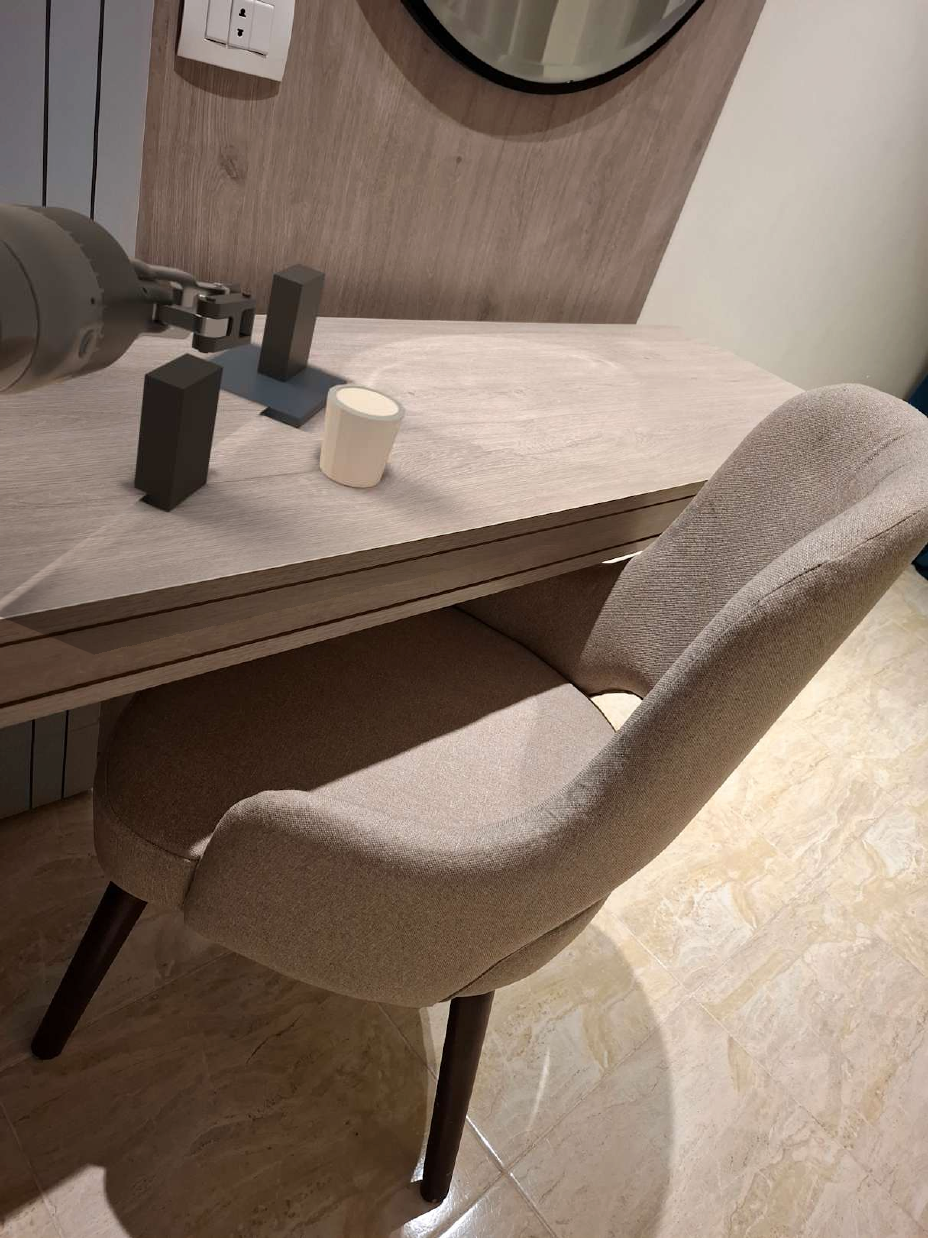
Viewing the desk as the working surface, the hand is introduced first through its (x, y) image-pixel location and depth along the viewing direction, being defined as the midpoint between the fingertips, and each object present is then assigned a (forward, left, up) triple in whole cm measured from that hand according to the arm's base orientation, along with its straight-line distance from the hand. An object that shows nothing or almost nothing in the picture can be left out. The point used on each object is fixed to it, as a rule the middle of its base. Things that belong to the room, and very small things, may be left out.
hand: (164, 281), depth 54 cm
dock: (-5, +33, -18) cm, 38 cm away
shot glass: (+8, +22, -19) cm, 30 cm away
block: (-2, +8, -18) cm, 20 cm away
